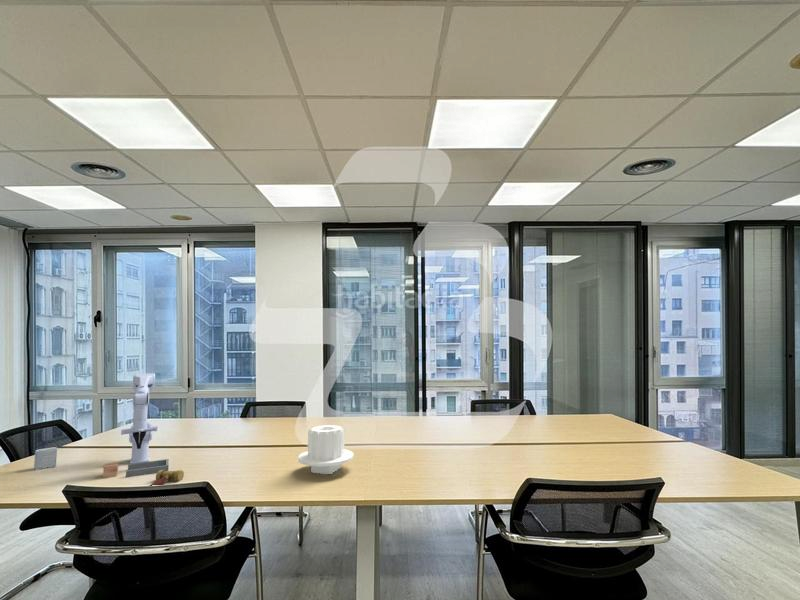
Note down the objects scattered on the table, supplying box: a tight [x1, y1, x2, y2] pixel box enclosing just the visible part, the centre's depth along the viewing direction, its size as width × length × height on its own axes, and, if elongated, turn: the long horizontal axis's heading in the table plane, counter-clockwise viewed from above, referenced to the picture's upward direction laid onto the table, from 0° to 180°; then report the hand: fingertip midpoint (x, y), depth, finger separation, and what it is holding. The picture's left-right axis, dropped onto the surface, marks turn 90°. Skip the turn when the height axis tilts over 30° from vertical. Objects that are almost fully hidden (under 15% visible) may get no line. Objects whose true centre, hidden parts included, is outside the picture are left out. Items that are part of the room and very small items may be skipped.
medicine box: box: [33, 446, 58, 470], centre depth 200 cm, size 8×4×9 cm, turn 134°
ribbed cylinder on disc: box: [297, 424, 354, 475], centre depth 193 cm, size 25×25×19 cm
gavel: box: [149, 469, 185, 486], centre depth 173 cm, size 21×5×10 cm
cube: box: [102, 461, 119, 479], centre depth 188 cm, size 5×5×5 cm
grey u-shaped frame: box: [125, 458, 170, 478], centre depth 195 cm, size 12×16×2 cm
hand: (138, 448), depth 198 cm, fingers closed
